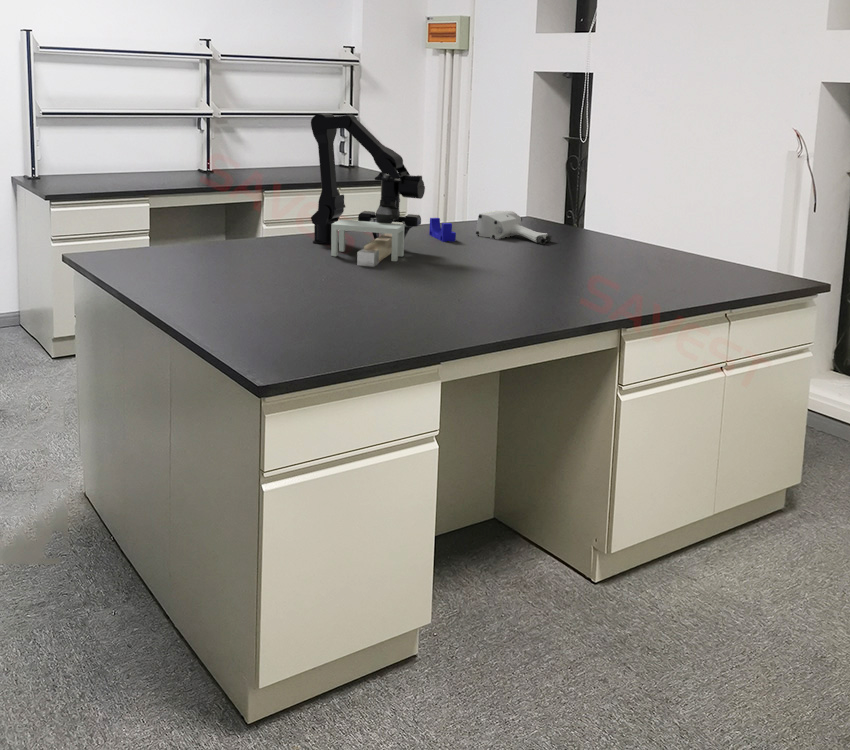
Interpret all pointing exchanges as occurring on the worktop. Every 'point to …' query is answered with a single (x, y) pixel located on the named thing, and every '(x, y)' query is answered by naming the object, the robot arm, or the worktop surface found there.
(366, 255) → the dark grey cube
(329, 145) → the robot arm
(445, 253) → the worktop surface
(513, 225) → the impact wrench
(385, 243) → the batten
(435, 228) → the cable clip
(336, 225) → the small white table
